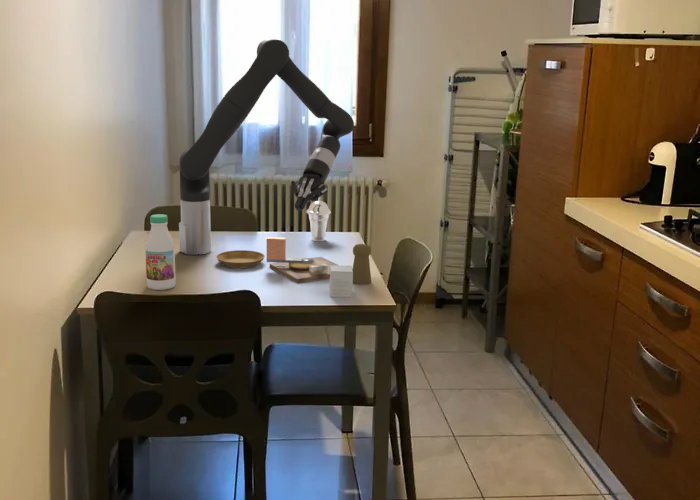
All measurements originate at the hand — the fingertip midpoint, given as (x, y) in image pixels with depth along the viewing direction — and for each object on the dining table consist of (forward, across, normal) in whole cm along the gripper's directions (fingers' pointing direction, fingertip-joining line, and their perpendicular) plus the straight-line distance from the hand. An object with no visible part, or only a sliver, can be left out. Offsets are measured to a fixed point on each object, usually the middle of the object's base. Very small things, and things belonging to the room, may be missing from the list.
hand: (298, 209), depth 235 cm
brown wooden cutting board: (+16, +9, +8) cm, 20 cm away
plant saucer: (+20, -14, +5) cm, 25 cm away
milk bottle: (+42, -18, -17) cm, 49 cm away
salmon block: (+17, +4, +4) cm, 18 cm away
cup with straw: (-9, -9, +33) cm, 35 cm away
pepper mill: (+17, +26, +7) cm, 32 cm away
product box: (+26, +27, -2) cm, 38 cm away
